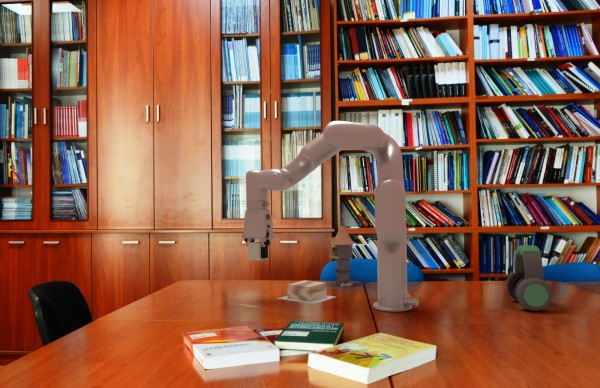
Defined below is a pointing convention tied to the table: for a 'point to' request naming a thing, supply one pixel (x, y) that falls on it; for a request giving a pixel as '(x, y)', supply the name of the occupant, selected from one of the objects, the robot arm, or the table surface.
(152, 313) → the table surface
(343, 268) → the model tower
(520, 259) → the headphones
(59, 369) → the table surface
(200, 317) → the table surface
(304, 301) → the board
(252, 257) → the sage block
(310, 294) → the block
